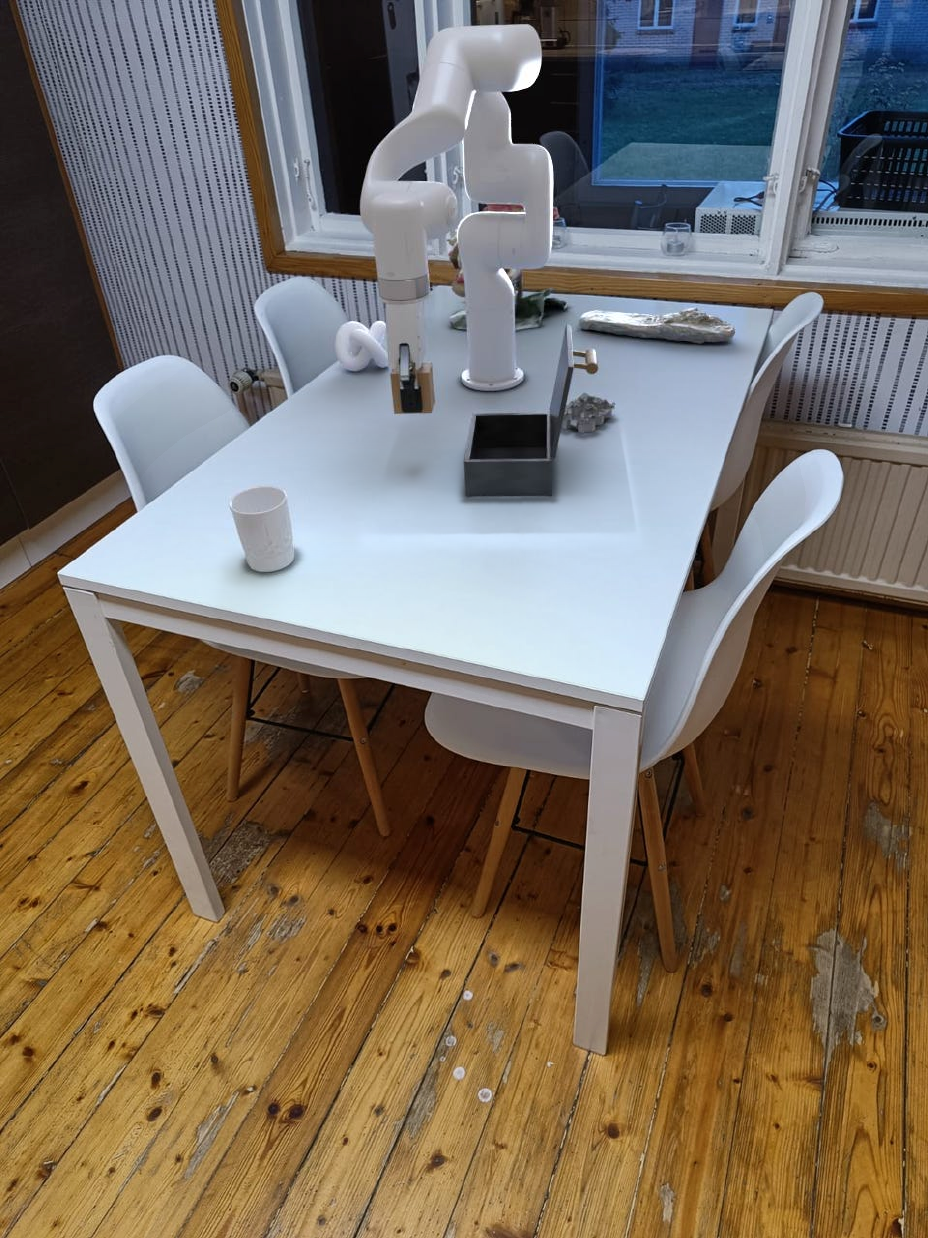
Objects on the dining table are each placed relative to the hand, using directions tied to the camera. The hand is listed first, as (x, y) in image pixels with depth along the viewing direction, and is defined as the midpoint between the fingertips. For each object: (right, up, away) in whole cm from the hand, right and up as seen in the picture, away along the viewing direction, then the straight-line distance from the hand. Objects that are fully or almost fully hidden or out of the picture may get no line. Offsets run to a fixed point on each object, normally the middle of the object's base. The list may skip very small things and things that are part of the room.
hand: (414, 403), depth 136 cm
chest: (+16, -10, +6) cm, 20 cm away
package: (0, 0, 0) cm, 1 cm away
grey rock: (+30, +1, +20) cm, 36 cm away
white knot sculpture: (-13, +21, +50) cm, 55 cm away
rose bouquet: (+17, +39, +71) cm, 83 cm away
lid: (+22, +1, -3) cm, 23 cm away
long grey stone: (+50, +30, +56) cm, 81 cm away
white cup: (-20, -26, -11) cm, 35 cm away
